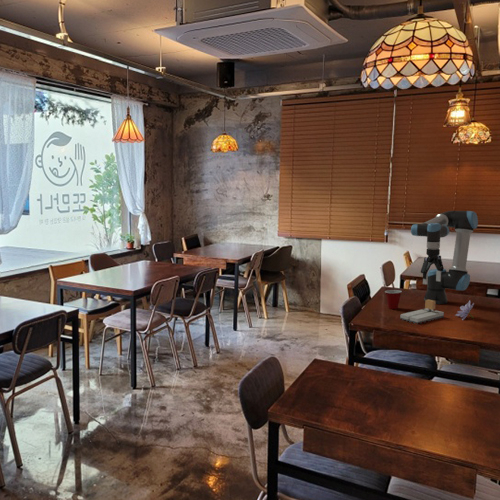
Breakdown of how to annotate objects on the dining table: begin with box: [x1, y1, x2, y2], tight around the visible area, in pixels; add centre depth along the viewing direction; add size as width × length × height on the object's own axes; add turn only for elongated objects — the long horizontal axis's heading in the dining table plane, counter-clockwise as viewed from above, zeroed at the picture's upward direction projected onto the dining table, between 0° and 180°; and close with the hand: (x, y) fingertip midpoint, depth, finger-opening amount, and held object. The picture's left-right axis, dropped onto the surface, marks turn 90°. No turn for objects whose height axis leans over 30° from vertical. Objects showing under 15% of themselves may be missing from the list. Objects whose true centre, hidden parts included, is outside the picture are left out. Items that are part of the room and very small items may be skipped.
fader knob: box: [424, 299, 436, 312], centre depth 282 cm, size 5×3×9 cm, turn 34°
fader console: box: [399, 307, 445, 325], centre depth 278 cm, size 12×26×3 cm, turn 124°
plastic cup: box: [384, 289, 402, 310], centre depth 302 cm, size 11×11×12 cm
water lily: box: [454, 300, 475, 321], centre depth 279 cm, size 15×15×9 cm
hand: (431, 282), depth 281 cm, fingers open, 13 cm apart
